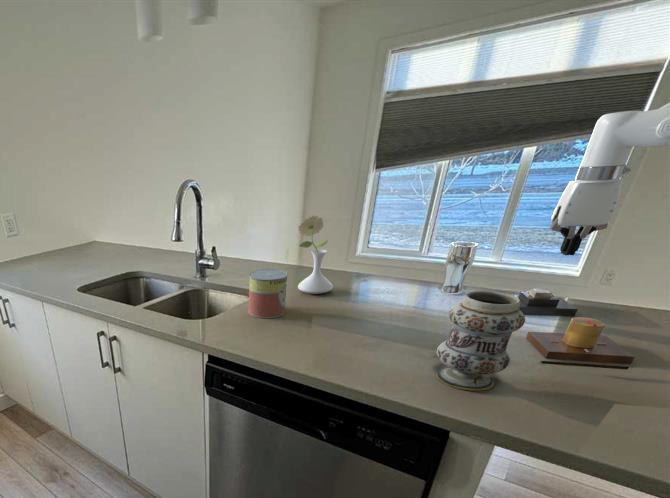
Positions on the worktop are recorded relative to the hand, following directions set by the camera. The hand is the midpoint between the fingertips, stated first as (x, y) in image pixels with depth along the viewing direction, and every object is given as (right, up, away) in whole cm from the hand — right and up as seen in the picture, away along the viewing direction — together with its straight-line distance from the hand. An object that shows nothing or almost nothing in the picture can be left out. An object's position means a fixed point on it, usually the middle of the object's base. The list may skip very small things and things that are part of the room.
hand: (567, 254), depth 104 cm
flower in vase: (-51, -1, +38) cm, 64 cm away
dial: (-13, -25, -15) cm, 32 cm away
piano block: (0, -13, +9) cm, 16 cm away
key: (0, -9, +8) cm, 12 cm away
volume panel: (-13, -27, -14) cm, 33 cm away
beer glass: (-11, -4, +26) cm, 29 cm away
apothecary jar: (-41, -33, -18) cm, 55 cm away
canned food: (-71, -11, +24) cm, 76 cm away
